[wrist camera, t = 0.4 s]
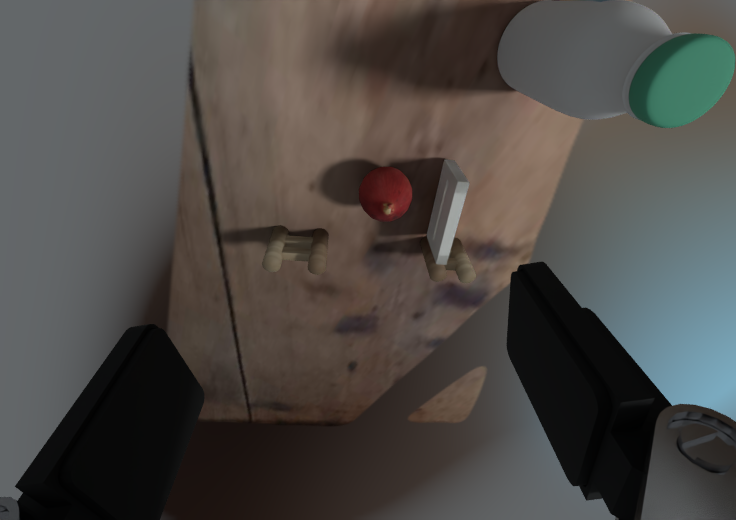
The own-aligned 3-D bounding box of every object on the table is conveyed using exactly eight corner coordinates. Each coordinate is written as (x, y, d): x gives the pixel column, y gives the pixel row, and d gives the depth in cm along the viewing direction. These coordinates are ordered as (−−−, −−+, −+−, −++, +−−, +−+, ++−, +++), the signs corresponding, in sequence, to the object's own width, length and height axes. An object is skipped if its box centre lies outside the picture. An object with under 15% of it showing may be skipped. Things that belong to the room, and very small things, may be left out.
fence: (272, 225, 46) (261, 256, 40) (462, 238, 48) (478, 270, 42) (273, 238, 47) (262, 271, 41) (458, 251, 49) (473, 283, 44)
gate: (435, 236, 47) (446, 264, 42) (426, 235, 47) (436, 264, 42) (454, 160, 41) (469, 182, 36) (444, 159, 41) (457, 181, 36)
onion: (414, 192, 44) (425, 225, 38) (370, 210, 45) (373, 245, 39) (397, 148, 41) (406, 176, 34) (350, 168, 42) (350, 199, 35)
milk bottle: (508, 105, 39) (626, 180, 22) (483, 31, 35) (603, 57, 18) (582, 63, 37) (770, 112, 20) (565, -20, 33) (780, -43, 16)
